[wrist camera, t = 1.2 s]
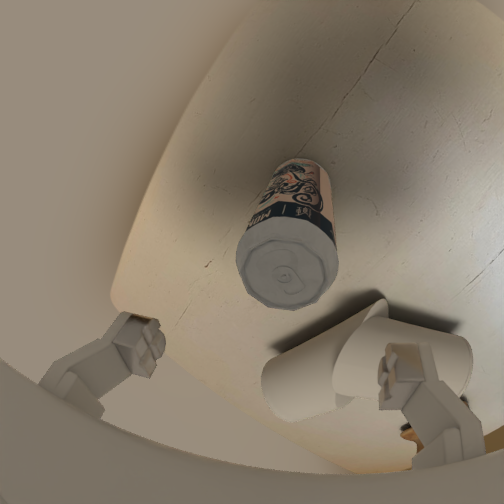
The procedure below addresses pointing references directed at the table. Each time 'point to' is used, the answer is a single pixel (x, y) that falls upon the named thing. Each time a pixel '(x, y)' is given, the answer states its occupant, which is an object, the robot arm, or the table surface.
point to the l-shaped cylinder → (354, 364)
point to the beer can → (291, 239)
